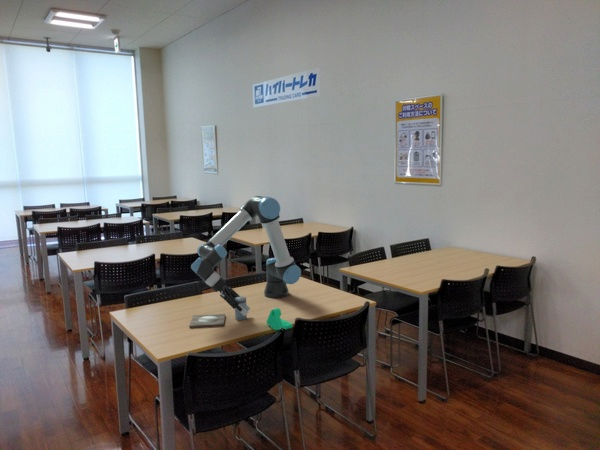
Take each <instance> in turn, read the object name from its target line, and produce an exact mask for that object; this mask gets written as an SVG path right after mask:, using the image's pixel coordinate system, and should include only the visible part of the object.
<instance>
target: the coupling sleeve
mask: <svg viewBox="0 0 600 450" xmlns="http://www.w3.org/2000/svg"><path fill="white" fill-rule="evenodd" d="M234 300H235V301H236V302H237V303H238V305H239V304H240V305H241V306H242V307H243V308H244V309H245V310H246V304H247V297H246V296H241V297H236V298H235V299H234ZM247 315H248V313H247V314H246V315H245V316H244V315H242V314H241V313H240V312H239V311H238V310H237V309H236V308H235V309H234V316H235V317H234V319H235V320H236V321H245V320H247V318H248V317H247Z"/></svg>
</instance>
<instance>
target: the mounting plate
mask: <svg viewBox="0 0 600 450" xmlns="http://www.w3.org/2000/svg"><path fill="white" fill-rule="evenodd" d="M225 319H226V313H222V314H221V313H218V314H216V313H215V314H202V315H201V314H198V315H196V314H195V315H192V318H191V320H190V323H189V325H188V327H189V329H197V328H198V329H199V328H216V327H224V326H225V321H226V320H225Z"/></svg>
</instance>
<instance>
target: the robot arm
mask: <svg viewBox="0 0 600 450" xmlns="http://www.w3.org/2000/svg"><path fill="white" fill-rule="evenodd" d="M280 212H281V206H280V203H279V202H278V200H277V199H275V198H273V197H271V196H262V195H255V196H253V197H251V198H250V199H248V200H247V201H246V202H245V203H244V204H243V205H241V207H240V208H239V211H238V212H237V213H236V214H235V215H234V216H233V217H232V218H231V219H230V220H228V222H226V223H225V224H224V225H223V226H222V227H221V229H219V230H218V231H217V232H216V233H215V234H214V235H213V236H212V237H211V238H210V239H208V241H207V242H206V243H204V244H200V245H199V246H198V248H197V254H198V256H199V257H198V258H197V259H196V260H195V261H194V262H192V263H191V266H190V269H191V270H192V271H193V272H194V273H195V274H196V275H197V276H198V277H199V278H201V280H203V282H204V283H205V284H206V285H208V286H209V287H211V289H212V290H213V292H215V293H218V292H219V293H220V294H219V296H220V298H222V299H223V300H224V302H226V303H227V304H228V305H230V306H231V308H233V309H234V310H235V308H236V309H237V310H238V311H239V312H240V313H241V314H242V315H244V316H245V315H246V314H247V315H248V313H249V311H250V310H251V307H250V306H249V305H248V304H247V303H246V310H245V309H244V308H243V307H242V306H241V305H240V304H239V305H238V303H237V302H236V301H235V300H234V299H235V298H236V297H242V296H241V295H240V294H239V293H238V292H236V291H235V290H234V289H233V288H232V287H231V286H230V285H226V283H227V282H226V279H224V278H222V277H221V275H220V274H218V273H217V271H215V270H214V269H215V267H216V266H217V265H218V264H219V263H221V261H222V260H223V259H225V257H226V256H228V251H227V250H226V248H225V247H224V245H225V244H226V243H227V242H228V241H229V240H230V239H231V238H232V237H234V235H235V234H237V232H238V231H240V230H241V228H242V227H244V226H245V224H247V222H249V221H253V219H255V218H256V217H258V220H259V223H260V225H263V227H264V229H265V232H266V235H267V238H268V241H269V244H270V246H271V250H272V252H273V256H274V257H270V258H268V259H267V260H266V263H265V266H266V267H265V268H266V269H265V270H266V271H265V272H266V284H265V287H264V291H263V295H264V297H267V298H271V299H272V298H273V299H278V298H285V297H287V296H288V295H289V288H288V285H294V284H296V283H297V282H298V281H299V280H300V277H301V276H302V269H301V268H300V267H299V266H298V265H297V264H296V262H295V259H294V257H293V256H291V255H290V252H289V250H288V249H289V248H288V246H287V244H286V243H287V242H286V240H285V237H284V234H283V232H282V228H281V225H280V222H279V220H280V217H281V216H280Z"/></svg>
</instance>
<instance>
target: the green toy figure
mask: <svg viewBox="0 0 600 450" xmlns="http://www.w3.org/2000/svg"><path fill="white" fill-rule="evenodd" d="M281 316H282V310H281V309H280V308H279V307H277V308H272V309H271V310H270V312H269V315H268V317H267V319H266V325H268V326H270V328H271V329H272V330H275V331H280V330H279V329H281V328H284V329H285V330H288V329H292V328H293V323H292V322H289V321H287V320H285V319H283V318H281Z"/></svg>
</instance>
